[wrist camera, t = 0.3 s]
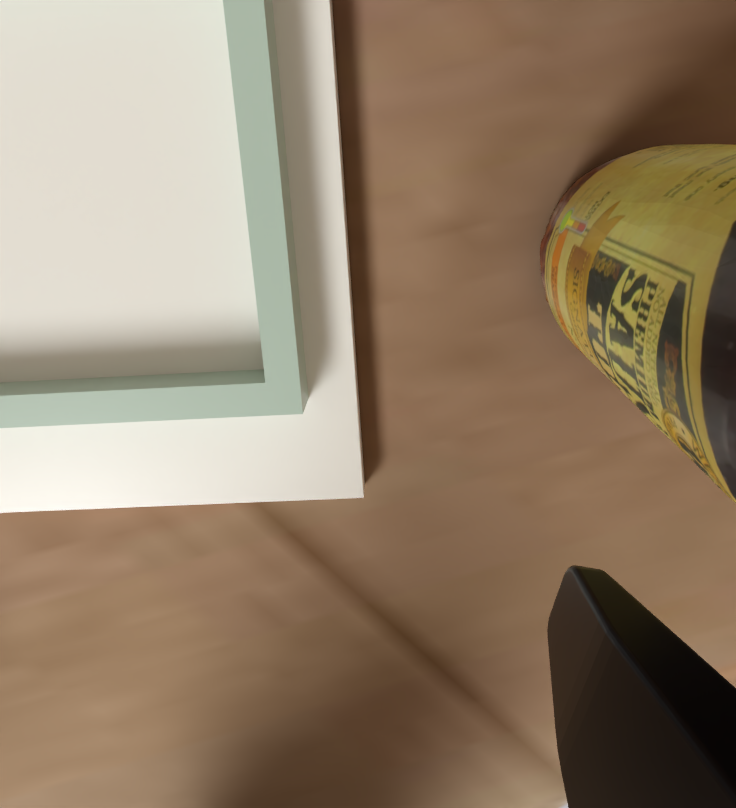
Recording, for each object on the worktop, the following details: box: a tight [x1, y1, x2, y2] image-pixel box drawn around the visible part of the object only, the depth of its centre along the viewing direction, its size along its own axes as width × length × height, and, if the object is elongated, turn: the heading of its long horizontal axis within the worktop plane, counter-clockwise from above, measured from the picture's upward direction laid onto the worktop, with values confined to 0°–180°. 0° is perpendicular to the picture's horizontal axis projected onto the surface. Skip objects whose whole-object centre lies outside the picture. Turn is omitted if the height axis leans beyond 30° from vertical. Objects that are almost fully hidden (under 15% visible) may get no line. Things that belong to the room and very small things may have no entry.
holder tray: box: [0, 0, 365, 513], centre depth 20 cm, size 20×16×2 cm
